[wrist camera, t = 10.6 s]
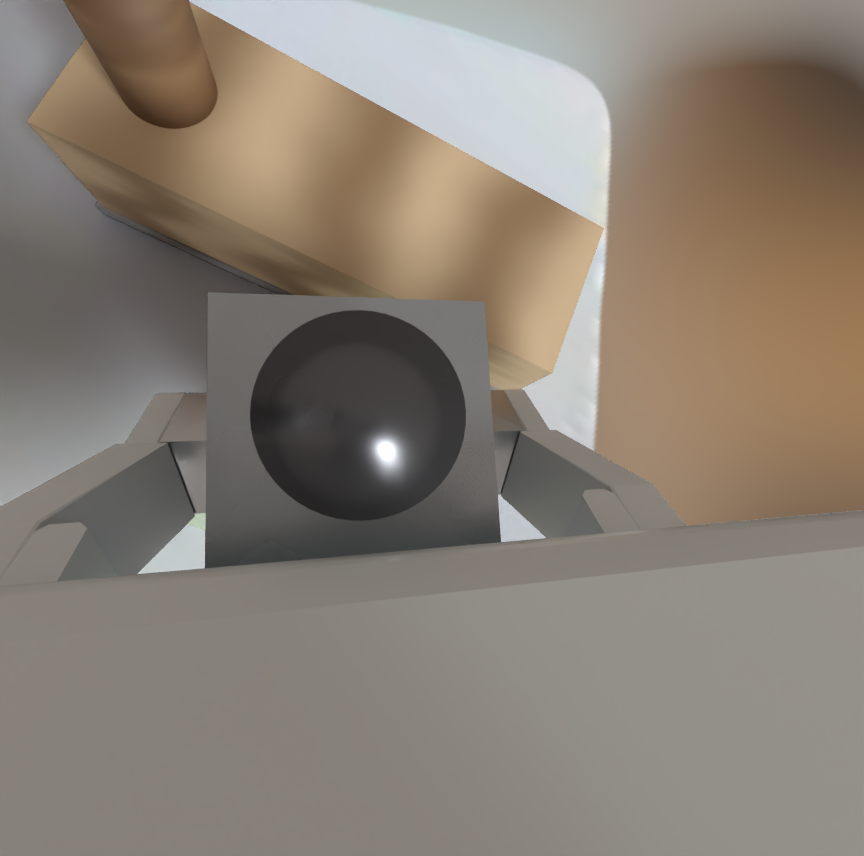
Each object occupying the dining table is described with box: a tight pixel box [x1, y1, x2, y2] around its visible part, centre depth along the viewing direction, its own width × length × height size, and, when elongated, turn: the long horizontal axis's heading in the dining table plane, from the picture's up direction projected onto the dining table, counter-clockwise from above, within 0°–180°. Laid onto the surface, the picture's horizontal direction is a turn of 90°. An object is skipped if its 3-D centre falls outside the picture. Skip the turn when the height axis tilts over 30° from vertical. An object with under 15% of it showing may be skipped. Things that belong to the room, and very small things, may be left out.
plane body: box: [27, 0, 604, 390], centre depth 16 cm, size 21×7×9 cm, turn 68°
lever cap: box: [205, 292, 501, 568], centre depth 10 cm, size 4×4×10 cm
